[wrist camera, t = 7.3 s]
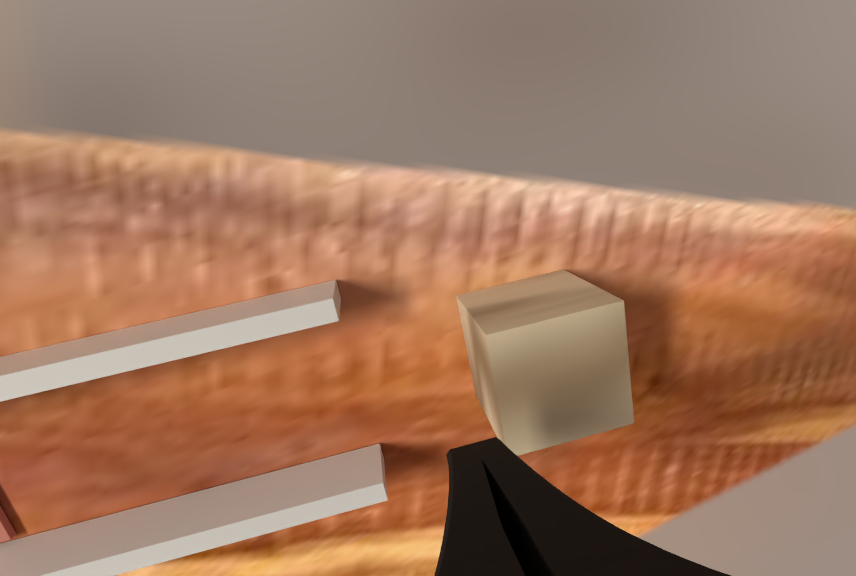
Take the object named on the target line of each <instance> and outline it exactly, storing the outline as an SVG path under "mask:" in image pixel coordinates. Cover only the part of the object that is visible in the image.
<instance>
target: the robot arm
mask: <svg viewBox="0 0 856 576" xmlns="http://www.w3.org/2000/svg"><path fill="white" fill-rule="evenodd" d="M446 456H447V460H448V465H449V496H448V509H447V517H446V523H445V529H444V536H443V541H442V546H441V551H440V556H439V560H438V564H437V568H436V572H435V576H730V575H728V574H724V573H721V572H718V571H716V570H713V569H710V568H707V567H705V566H702V565H700V564H697V563H695V562H692V561H690V560H687V559H684V558H682V557H679V556H677V555H675V554H672V553H670V552H668V551H665V550H663V549H661V548H659V547H657V546H655V545H653V544H650V543H648V542H646V541H644V540H642V539H640V538H638V537H636V536H633V535H631V534H629V533H627V532H626V531H624V530H622V529H620V528H618V527H616V526H614V525H613V524H611V523H609V522H608V521H606V520H604V519H602V518H601V517H599V516H597V515H596V514H594V513H592V512H591V511H589V510H588V509H586V508H585V507H583V506H582V505H580V504H578V503H577V502H576V501H574V500H573V499H571V498H570V497H568V496H567V495H565V494H564V493H563V492H561V491H560V490H559V489H557V488H556V487H554V486H553V485H552V484H551V483H549V482H548V481H547V480H545V479H544V478H543V477H542V476H540V475H539V474H538V473H537V472H535V471H534V470H533V469H532V468H530V467H529V466H528V465H527V464H526V463H525V462H523V461H522V460H521V459H520V458H519V457H518V456H517V455H516V454H514V453H513V452H512V451H511V450H510V449H509V448H508V447H507V446H506V445H505V444H504V443H503V442H502V441H501V440H500V439H498V438H496V437H495V438H491V439H487V440H484V441H480V442H476V443H472V444H469V445H465V446H461V447H458V448H454V449H450V450H449V452H448V453H447V454H446Z"/></svg>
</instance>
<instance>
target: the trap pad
mask: <svg viewBox="0 0 856 576" xmlns="http://www.w3.org/2000/svg"><path fill="white" fill-rule="evenodd" d="M15 534H16V532H15V530H14V529H13V527H12V525H11V523H10V522H9V520H8V518H7V516H6V515H5V513H4V511H3V509H2V508H1V506H0V542H3V541H7V540H11V539H12V538H13V536H14V535H15Z"/></svg>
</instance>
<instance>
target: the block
mask: <svg viewBox="0 0 856 576" xmlns="http://www.w3.org/2000/svg"><path fill="white" fill-rule="evenodd" d="M456 297H457V302H458V307H459V312H460V317H461V323H462V328H463V333H464V338H465V343H466V348H467V353H468V358H469V364H470V369H471V374H472V379H473V384H474V389H475V394H476V396H477V398H478V400H479V402H480V404H481V406H482V408H483V410H484V412H485V414H486V416H487V418H488V420H489V422H490V424H491V426H492V428H493V430H494V431H495V433H496V435H497V437H498V439H500V440H501V441H502V442H503V443H504V444H505V445H506V446H507V447H508V448H509V449H510V450H511V451H512V452H513V453H514V454H516V455H517V456H518V455H522V454H525V453H529V452H533V451H536V450H540V449H544V448H547V447H551V446H554V445H558V444H562V443H565V442H569V441H572V440H576V439H580V438H583V437H587V436H590V435H594V434H598V433H601V432H605V431H608V430H612V429H616V428H619V427H623V426H626V425H630V424H634V415H633V403H632V391H631V379H630V367H629V355H628V343H627V332H626V320H625V308H624V300H622V299H620V298H618V297H616V296H614V295H612V294H610V293H608V292H606V291H604V290H603V289H601V288H599V287H597V286H595V285H593V284H591V283H589V282H587V281H585V280H583V279H581V278H579V277H577V276H575V275H573V274H571V273H570V272H568V271H566V270H564V269H563V270H559V271H555V272H551V273H546V274H542V275H538V276H534V277H530V278H526V279H522V280H518V281H513V282H509V283H505V284H501V285H497V286H493V287H489V288H485V289H480V290H476V291H472V292H468V293H464V294H460V295H456Z"/></svg>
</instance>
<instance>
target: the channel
mask: <svg viewBox="0 0 856 576" xmlns="http://www.w3.org/2000/svg"><path fill="white" fill-rule="evenodd" d="M340 307H341V297H340V293H339V289H338V285H337V282H336V280H333V281H329V282H324V283H320V284H316V285H311V286H307V287H303V288H298V289H294V290H289V291H285V292H281V293H276V294H272V295H268V296H263V297H259V298H255V299H250V300H246V301H242V302H237V303H233V304H229V305H224V306H220V307H216V308H211V309H207V310H202V311H198V312H194V313H189V314H185V315H181V316H176V317H172V318H168V319H163V320H159V321H155V322H150V323H146V324H142V325H137V326H133V327H129V328H124V329H120V330H115V331H111V332H107V333H102V334H98V335H94V336H89V337H85V338H81V339H76V340H72V341H68V342H63V343H59V344H55V345H50V346H46V347H41V348H37V349H33V350H28V351H24V352H20V353H15V354H11V355H7V356H2V357H0V402H1V401H5V400H9V399H13V398H18V397H22V396H26V395H30V394H34V393H39V392H43V391H47V390H51V389H55V388H60V387H64V386H68V385H72V384H76V383H81V382H85V381H89V380H93V379H97V378H102V377H106V376H110V375H114V374H118V373H123V372H127V371H131V370H135V369H139V368H144V367H148V366H152V365H156V364H161V363H165V362H169V361H173V360H177V359H182V358H186V357H190V356H194V355H198V354H203V353H207V352H211V351H215V350H219V349H224V348H228V347H232V346H236V345H240V344H245V343H249V342H253V341H257V340H261V339H266V338H270V337H274V336H278V335H282V334H287V333H291V332H295V331H299V330H303V329H308V328H312V327H316V326H320V325H324V324H329V323H333V322H337V321H339V315H340ZM387 500H388V498H387V487H386V476H385V465H384V457H383V454H382V450H381V446H380V444H376V445H372V446H368V447H364V448H361V449H357V450H353V451H349V452H345V453H342V454H338V455H334V456H330V457H326V458H323V459H319V460H315V461H311V462H308V463H304V464H300V465H296V466H292V467H289V468H285V469H281V470H277V471H273V472H270V473H266V474H262V475H258V476H254V477H251V478H247V479H243V480H239V481H235V482H232V483H228V484H224V485H220V486H216V487H213V488H209V489H205V490H201V491H197V492H194V493H190V494H186V495H182V496H178V497H175V498H171V499H167V500H163V501H159V502H156V503H152V504H148V505H144V506H140V507H137V508H133V509H129V510H125V511H122V512H118V513H114V514H110V515H106V516H103V517H99V518H95V519H91V520H87V521H84V522H80V523H76V524H72V525H68V526H65V527H61V528H57V529H53V530H49V531H46V532H42V533H38V534H34V535H30V536H27V537H23V538H19V539H15V540H11V541H8V542H4V543H0V576H114V575H118V574H121V573H125V572H129V571H132V570H136V569H140V568H143V567H147V566H150V565H154V564H158V563H161V562H165V561H169V560H172V559H176V558H180V557H183V556H187V555H190V554H194V553H198V552H201V551H205V550H209V549H212V548H216V547H220V546H223V545H227V544H230V543H234V542H238V541H241V540H245V539H249V538H252V537H256V536H260V535H263V534H267V533H270V532H274V531H278V530H281V529H285V528H289V527H292V526H296V525H300V524H303V523H307V522H311V521H314V520H318V519H321V518H325V517H329V516H332V515H336V514H340V513H343V512H347V511H351V510H354V509H358V508H361V507H365V506H369V505H372V504H376V503H380V502H383V501H387Z"/></svg>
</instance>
